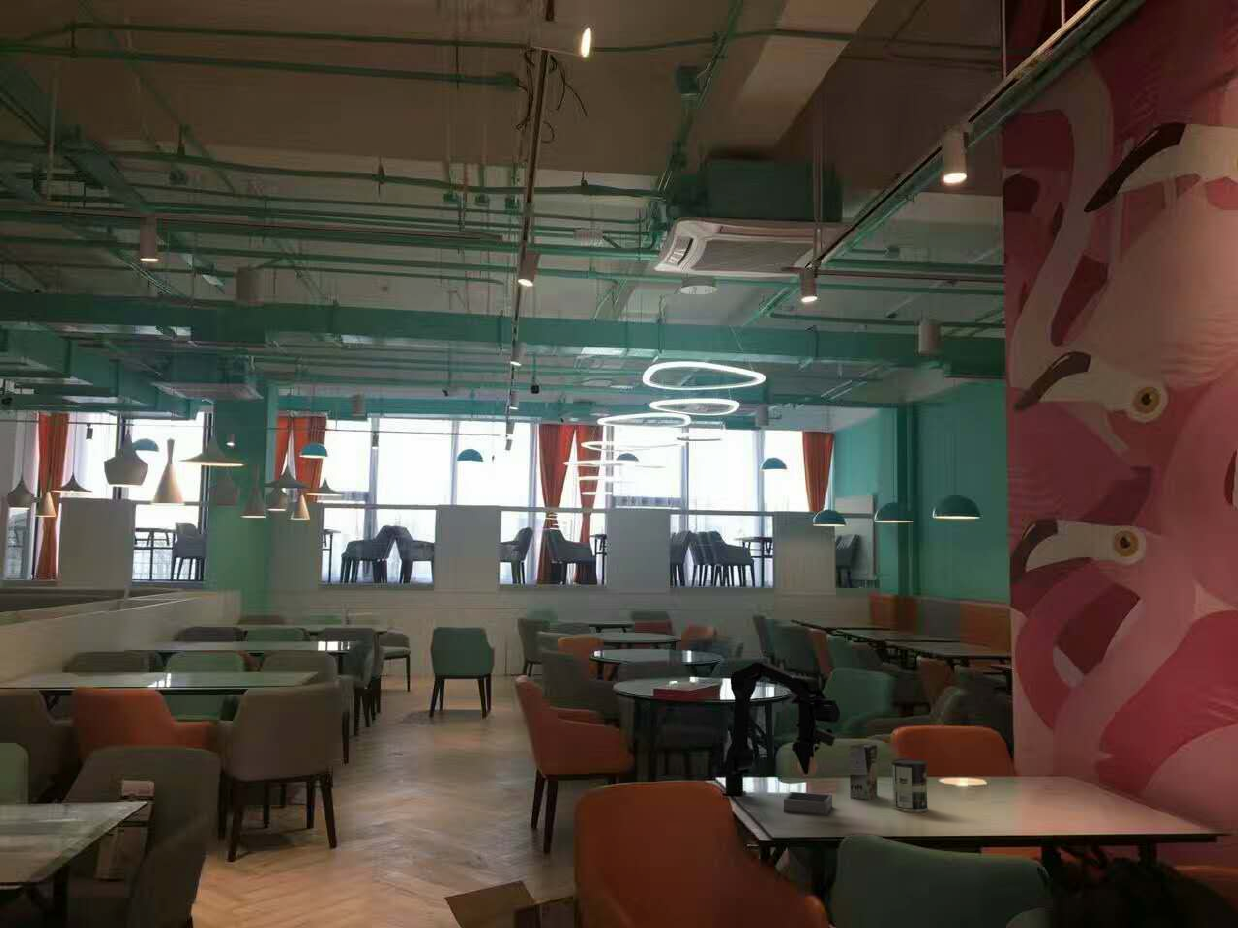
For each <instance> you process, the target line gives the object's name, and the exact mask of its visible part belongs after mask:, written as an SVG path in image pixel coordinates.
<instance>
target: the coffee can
mask: <svg viewBox="0 0 1238 928" xmlns="http://www.w3.org/2000/svg"><path fill="white" fill-rule="evenodd" d="M891 764H892V765H891V766H892V768H891V769H892V797H893V799H892V801H893V804H892V805H893V807H894V808H895V809H894V808H893V807H892V808H893V809H894V810H897V809H898V810H897V811H900V810H903V812H908V811H909V813H910V812H911V813H922V812H926V811H928V784H927V783H928V779H927V778H928V777H927V764H928V763H927V761H925V760H923V759H914V758H895V759H892V760H891Z"/></svg>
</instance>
